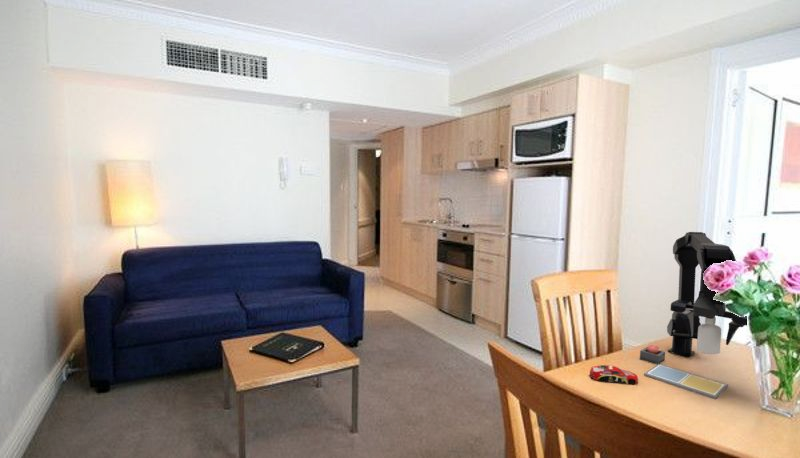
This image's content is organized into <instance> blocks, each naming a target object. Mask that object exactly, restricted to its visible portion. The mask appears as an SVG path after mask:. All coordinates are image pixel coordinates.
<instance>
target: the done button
mask: <svg viewBox="0 0 800 458" xmlns="http://www.w3.org/2000/svg"><path fill="white" fill-rule="evenodd" d="M646 347H647V352H649V353H653V354H658V350H660V349H659V347H658V346H657V345H654V344H653V345H652V344H649V345H646Z"/></svg>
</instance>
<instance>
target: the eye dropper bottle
mask: <svg viewBox="0 0 800 458" xmlns="http://www.w3.org/2000/svg"><path fill="white" fill-rule="evenodd" d="M716 317H717V316H715V318H713V319H708V318H706V317H704V323H701V325H700V326H699V327H698V338H697V339H696V351H698V352H699V353H701V354H706V355H717V354H720V352H721V342H722V328H721V326H719V325H717V324H716V320H717V318H716Z"/></svg>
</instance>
